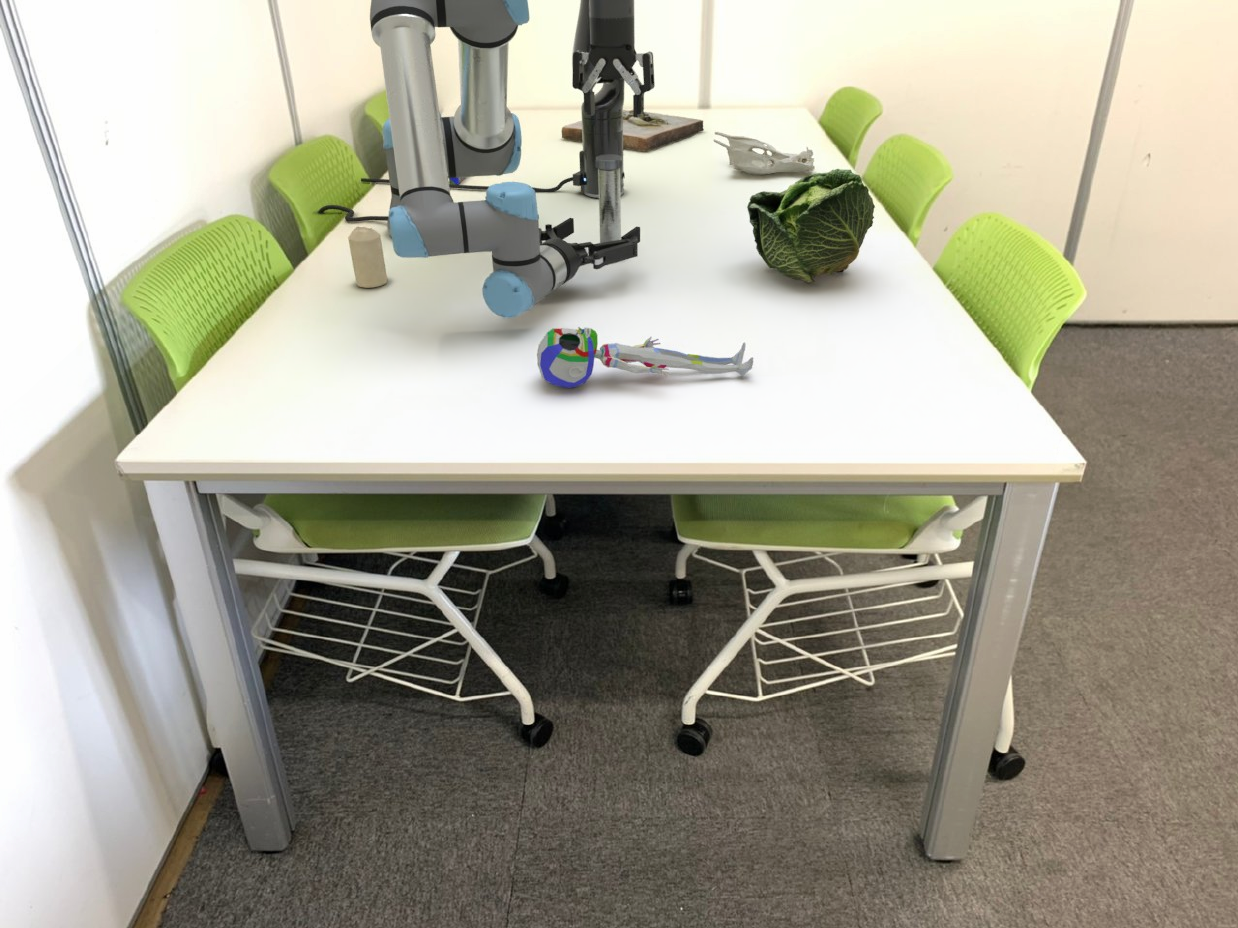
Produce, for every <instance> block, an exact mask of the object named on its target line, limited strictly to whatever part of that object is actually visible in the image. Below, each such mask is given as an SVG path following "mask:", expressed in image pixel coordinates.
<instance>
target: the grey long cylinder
mask: <svg viewBox="0 0 1238 928" xmlns="http://www.w3.org/2000/svg"><path fill="white" fill-rule="evenodd" d="M598 183H599V198H598V214H599V215H598V216H599V219H598V220H599V243H603V242H610V241H616V240H621V237H622V213H621V211H622V209H621V207H622V206H621V200H622V199H621V195H620V168H619V169H614V170H603V169H598Z"/></svg>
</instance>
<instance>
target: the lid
mask: <svg viewBox="0 0 1238 928" xmlns="http://www.w3.org/2000/svg"><path fill="white" fill-rule="evenodd" d="M596 167H597V168H598V169H603V170H614V169H619V168H621V167H622V157H621V156H619V155H614V154H605V155H599V156H597V157H596Z"/></svg>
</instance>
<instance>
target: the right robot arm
mask: <svg viewBox="0 0 1238 928" xmlns="http://www.w3.org/2000/svg"><path fill="white" fill-rule="evenodd" d="M635 39H636V38H635V0H580V3H579V9H578V16H577V22H576V27H575V33H574V40H573V45H572V53H571V54H572V55H571V68H572V80H571V81H572V83H571V84H572V88H573V89H574V90H579V91H581V92H582V94H583V102H582V103H581V109H580V112H581V121H582V140H583V142H582V150H580V151H579V153H578V156H579V171H577V172H575V173H572V176H571V177H568V178H564V179H563V180H562V181H560V182H559V183H558V185H557V186H554V187H551V188H541V187H540V188H539V187H533V186H531V187H532V188H533V189H534V190H535V193H553V192H557V191H559V190H560V189H561V188H562V187H563V186H564V185H565V184H568V183H570V182H572V186H575V187H580V195H585V196H587V197H589V198H595V199H599V183H598V168H597V167H596V157H597V156H599V155H605V154H614V155H619V156H621V157H622V167H621V168H620V196H622V195H624V193H625V188H624V186H625V183H624V181H625V180H624V179H625V178H626V177H625V171H624V148H623V110H624V105H625V104H624V103H625V85H626V84H627V85H628V86H629V87H630V89H631V90H632V92H633V95H632V107H633V109H632V110H633V116H634V118H638V117H640V115H641V114H642V113H643V111H644V110H645V93H647V92H650V91H651V90H653V89H654V88H655V87H656V85H655V68H654V67H655V66H654V65H655V64H654V53H653V52H652V51H646V52H643V53H641V52H640V53H637V51H636V48H635ZM636 62H638V64H639V66H640V67H641V68H642V77H643V83H642V81H641V80H640V79H639V75H638V74H637V72H636V71H635V69H634V65H635V64H636ZM625 83H626V84H625ZM597 84H602V87H601V89H600V90H598V92H597V93H595V91H593V89H594V88H595V86H596V85H597ZM644 112H645V111H644ZM360 182H362V183H383V184H390V181H389V178H388V179H387V178H364V177H361V178H360ZM490 186H491V185H490ZM490 186H489V185H469V184H449V188H450V189H459V190H460V189H463V190H479V191H480V190H481V191H487V189H488V188H489V187H490Z"/></svg>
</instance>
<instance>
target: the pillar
mask: <svg viewBox="0 0 1238 928" xmlns="http://www.w3.org/2000/svg"><path fill="white" fill-rule="evenodd" d="M465 178H466V177H459V178H448V180H449V184H454V185H460V183H462V181H463V180H464V179H465Z"/></svg>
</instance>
